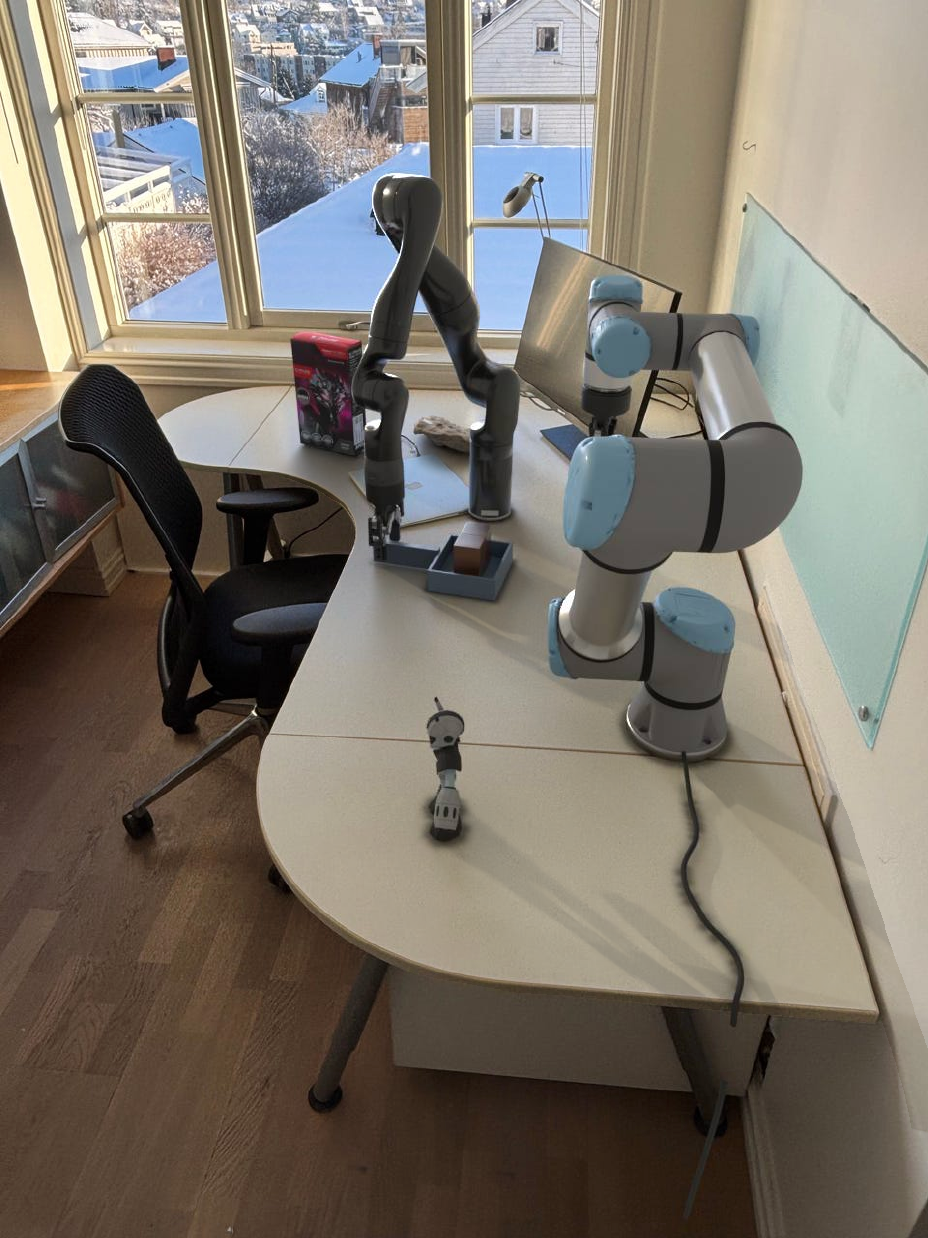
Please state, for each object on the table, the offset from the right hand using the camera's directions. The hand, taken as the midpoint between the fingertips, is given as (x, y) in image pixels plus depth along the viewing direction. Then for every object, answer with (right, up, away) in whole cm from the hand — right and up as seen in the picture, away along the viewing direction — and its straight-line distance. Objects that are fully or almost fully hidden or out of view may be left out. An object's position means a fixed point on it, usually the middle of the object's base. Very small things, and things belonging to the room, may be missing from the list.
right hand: (594, 510), depth 151 cm
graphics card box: (-54, +26, +82) cm, 102 cm away
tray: (-27, -8, +32) cm, 42 cm away
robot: (-24, -46, -24) cm, 57 cm away
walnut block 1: (-19, -7, +32) cm, 38 cm away
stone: (-25, +26, +83) cm, 91 cm away
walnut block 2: (-20, -10, +28) cm, 36 cm away
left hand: (-37, -4, +33) cm, 49 cm away
